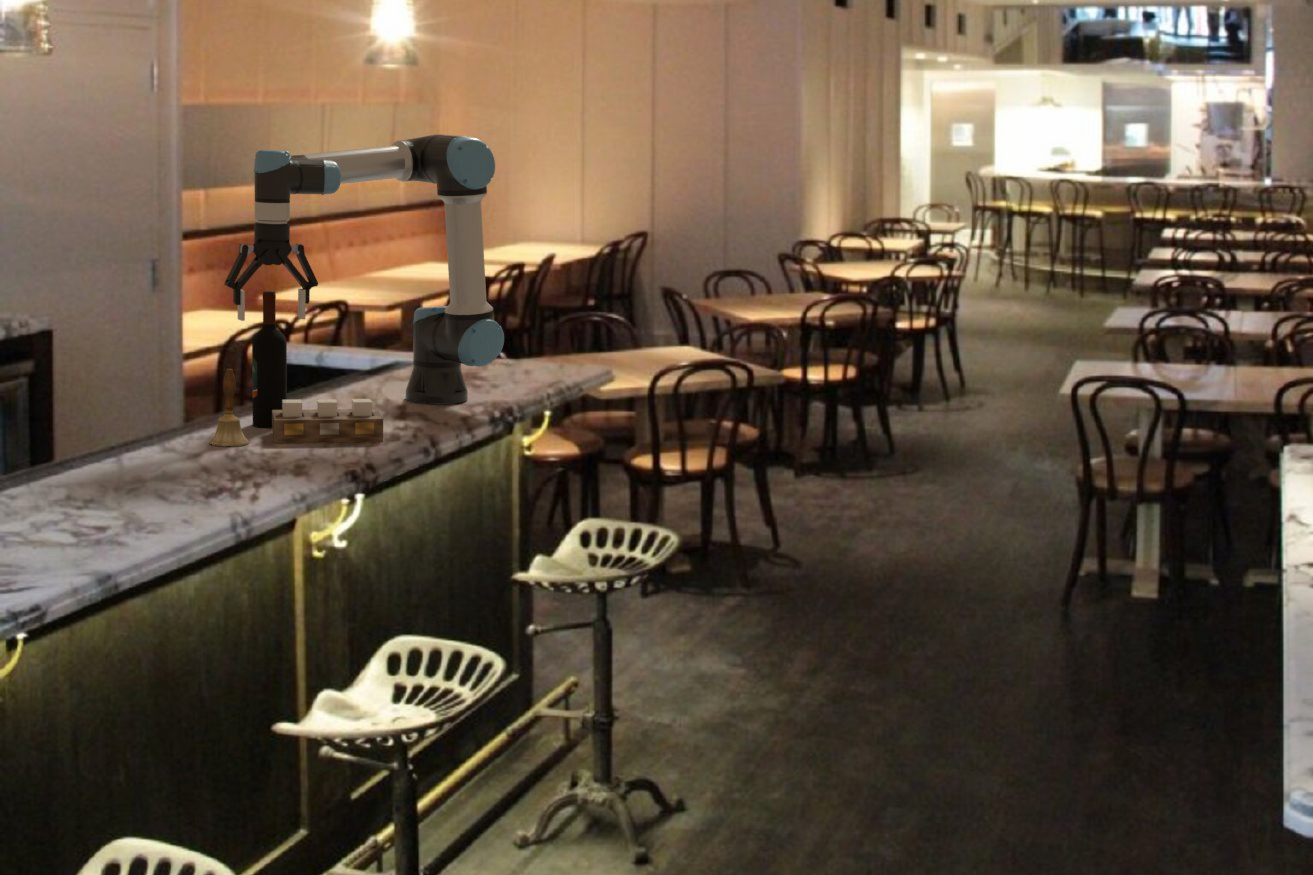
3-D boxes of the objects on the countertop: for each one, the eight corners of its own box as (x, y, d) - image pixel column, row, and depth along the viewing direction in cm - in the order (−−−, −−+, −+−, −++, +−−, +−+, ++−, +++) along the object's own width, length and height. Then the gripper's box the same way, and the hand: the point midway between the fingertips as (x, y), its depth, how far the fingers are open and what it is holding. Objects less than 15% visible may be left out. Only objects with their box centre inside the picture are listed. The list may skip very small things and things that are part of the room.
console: (377, 430, 403) (377, 408, 402) (383, 441, 391) (383, 419, 390) (272, 432, 397) (272, 409, 396) (274, 443, 385) (274, 420, 384)
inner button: (370, 421, 398) (370, 398, 397) (372, 424, 394) (372, 402, 393) (351, 421, 397) (352, 399, 396) (353, 424, 393) (353, 402, 392)
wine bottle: (270, 429, 400) (269, 294, 394) (245, 425, 404) (244, 291, 398) (294, 424, 406) (293, 292, 400) (269, 420, 410) (268, 289, 404)
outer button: (301, 422, 394) (300, 399, 393) (302, 425, 390) (302, 402, 389) (282, 422, 393) (282, 399, 392) (283, 425, 389) (283, 402, 388)
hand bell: (230, 437, 390) (229, 364, 387) (257, 443, 385) (256, 369, 382) (200, 443, 383) (199, 368, 380) (227, 448, 379) (226, 373, 375)
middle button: (335, 421, 396) (335, 399, 395) (337, 425, 392) (337, 402, 391) (317, 421, 395) (317, 399, 394) (318, 425, 391) (318, 402, 390)
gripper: (321, 220, 401) (320, 315, 405) (210, 220, 388) (210, 318, 392) (333, 223, 394) (332, 320, 398) (220, 223, 382) (220, 322, 386)
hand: (271, 319), depth 395 cm, fingers open, 13 cm apart
